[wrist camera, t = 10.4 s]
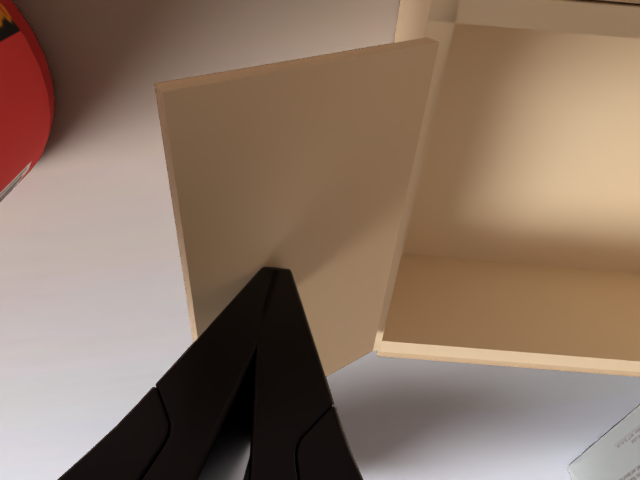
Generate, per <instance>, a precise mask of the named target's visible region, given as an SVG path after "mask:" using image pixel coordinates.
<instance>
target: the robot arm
mask: <svg viewBox="0 0 640 480" xmlns="http://www.w3.org/2000/svg"><path fill="white" fill-rule="evenodd" d="M58 480H363V478H362V476H361V473H360V471H359V469H358V466H357V464H356V462H355V460H354V457H353V455H352V453H351V450H350V447H349V444H348V442H347V439H346V436H345V433H344V431H343V428H342V425H341V422H340V419H339V416H338V413H337V410H336V408H335V407H334V401H333V398H332V395H331V392H330V388H329V385H328V382H327V379H326V376H325V373H324V370H323V367H322V364H321V361H320V357H319V354H318V351H317V348H316V345H315V342H314V339H313V336H312V333H311V329H310V326H309V323H308V320H307V317H306V314H305V311H304V308H303V305H302V301H301V298H300V295H299V292H298V289H297V286H296V283H295V280H294V277H293V274H292V271H291V270H290V269H286V268H277V267H262V268H261V269H260V270H259V271H258V272H257V273H256V274H255V275H254V276H253V278H252V279H251V280H250V281H249V282H248V283H247V284H246V285H245V286H244V287H243V289H242V290H241V291H240V292H239V293H238V294H237V295H236V296H235V297H234V298H233V300H232V301H231V302H230V303H229V304H228V305H227V306H226V307H225V308H224V309H223V311H222V312H221V313H220V314H219V315H218V316H217V317H216V318H215V319H214V320H213V322H212V323H211V324H210V325H209V326H208V327H207V328H206V329H205V330H204V331H203V333H202V334H201V335H200V336H199V337H198V338H197V339H196V340H195V341H194V342H193V344H192V345H191V346H190V347H189V348H188V349H187V350H186V351H185V352H184V353H183V355H182V356H181V357H180V358H179V359H178V360H177V361H176V362H175V363H174V364H173V366H172V367H171V368H170V369H169V370H168V371H167V372H166V373H165V374H164V375H163V377H162V378H161V379H160V380H159V381H158V382H157V383H156V387H152V388H151V389H150V391H149V392H148V393H147V394H146V395H145V396H144V397H143V398H142V399H141V401H140V402H139V403H138V404H137V405H136V406H135V407H134V408H133V409H132V410H131V411H130V412H129V413H128V414H127V415H126V416H125V417H124V418H123V419H122V420H121V421H120V423H119V424H118V425H117V426H116V427H115V428H114V429H112V430H111V431H110V432H109V433H108V434H107V435H106V436H105V437H104V438H103V439H102V440H101V441H100V442H99V443H97V444H96V445H95V446H94V447H93V448H92V449H91V450H90V451H89V452H88V453H87V454H85V455H84V456H83V457H82V458H81V459H80V460H79V461H78V462H77V463H75V464H74V465H73V466H72V467H71V468H70V469H69V470H68V471H66V472H65V473H64V474H63V475H62V476H61V477H60V478H59V479H58Z"/></svg>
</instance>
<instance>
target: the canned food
mask: <svg viewBox="0 0 640 480" xmlns="http://www.w3.org/2000/svg"><path fill="white" fill-rule="evenodd" d="M54 108H55V99H54V89H53V81H52V78H51V74H50V71H49V67H48V64H47V61H46V57H45V55H44V53H43V51H42V49H41V47H40V45H39V43H38V41H37V39H36V36H35V34H34V32H33V30H32V29H31V28H30V26H29V25H28V23H27V22H26V20H25V19H24V17H23V16H22V14H21V13H20V11H19V10H18V8H17V7H16V5H15V4H14V3H13V2H12V1H11V0H0V202H1V201H2V200H3V199H4V198H5V197H6V196H7V195H8V194H9V193H10V192H11V191H12V189H13V188H14V187H15V186H16V185H17V184H18V183H19V182H20V181H21V180H22V179H23V178H24V177H25V176H26V175H27V174H28V173H29V172H30V171H31V169H32V168H33V167H34V165H35V164H36V163H37V162H38V160H39V159H40V158H41V156H42V153H43V151H44V148H45V145H46V143H47V140H48V137H49V134H50V131H51V128H52V124H53V117H54Z"/></svg>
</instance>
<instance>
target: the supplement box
mask: <svg viewBox="0 0 640 480" xmlns="http://www.w3.org/2000/svg"><path fill="white" fill-rule="evenodd" d="M568 472H569V474H570V477H571V480H640V405H639V406H638V407H637V408H635V409H634V410H633V411H632V412H631V413H630V414H628V415H627V416H626V417H625V418H624V419H623V420H622V421H620V422H619V423H618V424H617V425H616V426H614V427H613V428H612V429H611V430H610V431H609V432H607V433H606V434H605V435H604V436H603V437H601V438H600V439H599V440H598V441H597V442H596V443H594V444H593V445H592V446H591V447H590V448H589V449H588V450H586V451H585V452H584V453H583V454H582V455H581V456H580V457H578V458H577V459H576V460H575V461H574V462H572V463H571V464H570V465H569V466H568Z"/></svg>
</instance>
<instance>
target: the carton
mask: <svg viewBox="0 0 640 480" xmlns="http://www.w3.org/2000/svg"><path fill="white" fill-rule="evenodd" d="M425 37H428V38H431V39H433V40H435V41H438V42H439V47H438V51H437V56H436V60H435V65H434V70H433V74H432V79H431V84H430V88H429V93H428V97H427V102H426V107H425V111H424V116H423V121H422V125H421V130H420V135H419V139H418V144H417V148H416V153H415V158H414V162H413V167H412V172H411V176H410V181H409V185H408V190H407V195H406V199H405V204H404V209H403V213H402V218H401V223H400V227H399V232H398V236H397V241H396V246H395V250H394V255H393V260H392V264H391V269H390V273H389V278H388V283H387V287H386V292H385V297H384V301H383V306H382V311H381V315H380V320H379V324H378V329H377V334H376V338H375V343H374V348H373V351H377V354H378V356H384V357H397V358H410V359H422V360H435V361H447V362H460V363H473V364H485V365H498V366H510V367H523V368H536V369H548V370H561V371H573V372H586V373H599V374H611V375H624V376H636V377H640V0H400V6H399V13H398V19H397V25H396V32H395V38H394V43H396V42H402V41H408V40H414V39H419V38H425Z"/></svg>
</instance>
